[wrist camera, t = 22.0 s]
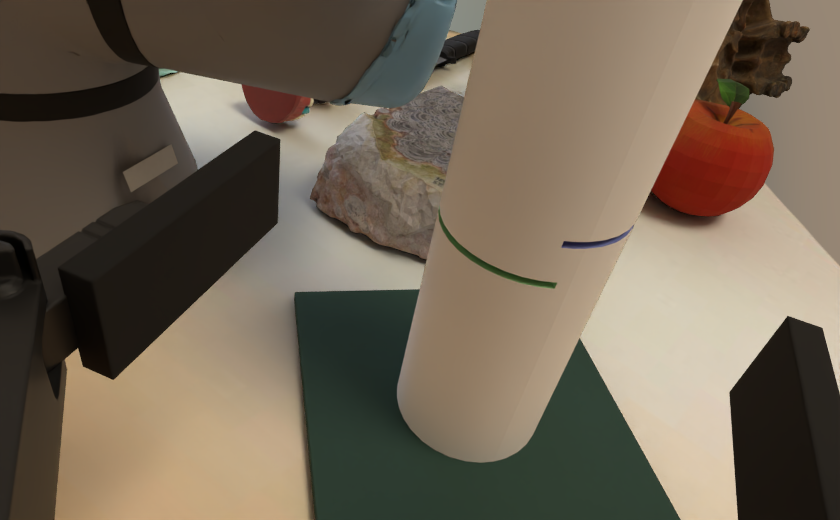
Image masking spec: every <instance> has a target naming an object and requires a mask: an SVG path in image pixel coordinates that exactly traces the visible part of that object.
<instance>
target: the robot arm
mask: <svg viewBox="0 0 840 520" xmlns="http://www.w3.org/2000/svg"><path fill="white" fill-rule="evenodd" d="M456 3H457V0H0V520H54V517H55V505H56V493H57V481H58V469H59V457H60V445H61V434H62V422H63V410H64V398H65V386H66V374H67V368H66V363H65V358H66V357H68V356H69V355H70V354H71V353H72V352H73V351H75V350H76V349H77V348H78V349H79V353H80V357H81V361H82V365H83V367H86V368H88V369H90V370H92V371H94V372H97V373H99V374H101V375H103V376H106V377H108V378H110V379H112V380H114V379H115V378H116V377H117V376H118V375H119V374H120V373H121V372H122V371H123V370H124V369H125V368H126V367H127V366H128V365H129V364H130V363H131V362H133V361H134V360H135V359H136V358H137V357H138V356H139V355H140V354H141V353H142V352H143V351H144V350H145V349H146V348H147V347H148V346H149V345H150V344H151V343H152V342H153V341H154V340H156V339H157V338H158V337H159V336H160V335H161V334H162V333H163V332H164V331H165V330H166V329H167V328H168V327H169V326H170V325H171V324H172V323H173V322H174V321H175V320H176V319H178V318H179V317H180V316H181V315H182V314H183V313H184V312H185V311H186V310H187V309H188V308H189V307H190V306H191V305H192V304H193V303H194V302H195V301H196V300H197V299H198V298H199V297H201V296H202V295H203V294H204V293H205V292H206V291H207V290H208V289H209V288H210V287H211V286H212V285H213V284H214V283H215V282H216V281H217V280H218V279H219V278H220V277H221V276H223V275H224V274H225V273H226V272H227V271H228V270H229V269H230V268H231V267H232V266H233V265H234V264H235V263H236V262H237V261H238V260H239V259H240V258H241V257H242V256H243V255H244V254H246V253H247V252H248V251H249V250H250V249H251V248H252V247H253V246H254V245H255V244H256V243H257V242H258V241H259V240H260V239H261V238H262V237H263V236H264V235H265V234H266V233H268V232H269V231H270V230H271V229H272V228H273V227H274V226H275V225H276V224H277V223H278V194H279V164H280V139H278V138H275V137H272V136H269V135H266V134H264V133H261V132H258V131H254V132H252V133H251V134H249V135H248V136H246V137H245V138H243V139H242V140H241V141H239V142H238V143H236V144H235V145H233V146H232V147H230V148H229V149H228V150H226V151H225V152H223V153H222V154H220V155H219V156H217V157H216V158H215V159H213V160H212V161H210V162H209V163H207V164H206V165H205V166H203V167H202V168H200V169H199V170H198V169H197V165H196V161H195V159H194V157H193V155H192V152H191V150H190V148H189V146H188V144H187V142H186V139H185V137H184V135H183V133H182V131H181V129H180V126H179V124H178V122H177V120H176V118H175V115H174V113H173V111H172V109H171V107H170V105H169V102H168V100H167V98H166V96H165V94H164V92H163V89H162V87H161V83H160V75H159V68H161V69H169V70H174V71H179V72H184V73H189V74H193V75H198V76H203V77H208V78H213V79H218V80H223V81H228V82H233V83H238V84H243V85H248V86H253V87H258V88H263V89H268V90H273V91H278V92H283V93H288V94H293V95H298V96H303V97H308V98H313V99H318V100H322V101H327V102H330V103H331V104H334V105H338V106H341V105H347V104H350V103H354V104H361V105H369V106H377V107H384V108H396V107H400V106H403V105H405V104H407V103H409V102H411V101H412V100H413V99H414V98H416V97H417V96H418V95H419V93H420V92H421V91H422V90H423V88H424V87H425V85H426V83H427V82H428V80H429V78H430V76H431V74H432V72H433V70H434V67H435V65H436V63H437V61H438V58H439V56H440V53H441V50H442V48H443V45H444V42H445V39H446V37H447V34H448V31H449V28H450V25H451V21H452V18H453V15H454V12H455V9H456ZM730 407H731V421H732V436H733V451H734V466H735V481H736V496H737V510H738V520H840V394H839V390H838V386H837V382H836V378H835V374H834V371H833V367H832V363H831V359H830V355H829V352H828V348H827V344H826V340H825V336H824V332H823V329H822V328H821V327H818V326H815V325H812V324H809V323H806V322H803V321H801V320H798V319H795V318H792V317H789V316H787V318H786V319H785V320H784V322H783V323H782V324H781V326H780V327H779V328H778V329H777V331H776V332H775V333H774V335H773V336H772V337H771V339H770V340H769V341H768V343H767V344H766V345H765V346H764V348H763V349H762V350H761V352H760V353H759V354H758V356H757V357H756V358H755V360H754V361H753V362H752V363H751V365H750V366H749V367H748V369H747V370H746V371H745V373H744V374H743V375H742V377H741V378H740V379H739V380H738V382H737V383H736V384H735V386H734V387H733V388H732V390H731V391H730Z"/></svg>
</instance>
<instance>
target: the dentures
mask: <svg viewBox="0 0 840 520" xmlns="http://www.w3.org/2000/svg"><path fill="white" fill-rule="evenodd" d="M242 88H243V92H244V95H245V98H246V101H247V103H248V105H249V106H250V108H251V110H252V111H253V113H254V114H255V115H256V116H257V117H259V118H260V119H261V120H264V121H268V122H271V123H283V122H284V121H293V120H297V119H300V118H302V117H303V116H305V114H307V113H309V107H311V106H312V105H313V103H316V104H317V103H319V104H324V103H328V102H327V101H322V100H318V99H313V98H308V97H303V96H298V95H293V94H288V93H283V92H278V91H273V90H268V89H263V88H258V87H253V86H248V85H243V84H242Z"/></svg>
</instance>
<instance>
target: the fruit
mask: <svg viewBox="0 0 840 520" xmlns="http://www.w3.org/2000/svg"><path fill="white" fill-rule="evenodd" d="M716 81H717V82H718V83H719V89H720V93H721V97H722V99H723V100H724V102H725V103H726V104H727V105H728V106H726V105H721V104H716V103H712V102H707V101H703V100H694V102H693V104H692V106H691V108H690V111H689V113H688V115H687V117H686V119H685V121H684V123H683V125H682V127H681V129H680V131H679V133H678V135H677V138H676V140H675V142H674V144H673V146H672V148H671V150H670V152H669V154H668V156H667V158H666V160H665V162H664V164H663V167H662V169H661V171H660V173H659V175H658V177H657V179H656V181H655V183H654V185H653V187H652V189H651V191H652V192H653V193H654V194H655V195H656V196H657V197H658V198H659V199H660V200H661V201H662V202H663V203H665V204H666V205H668V206H669V207H671V208H673V209H675V210H677V211H679V212H682V213H686V214H689V215H697V216H719V215H721V214H724V213H727V212H730V211H732V210H734V209H737V208H739V207H741V206H742V205H743V204H745V203H746V202H748V201H749V200H751V199H752V198H753V197H754V196H755V195H756V194H757V192H758V191H759V190H760V189H761V188H762V186H763V185H764V183H765V180H766V178H767V176H768V174H769V171H770V169H771V167H772V162H773V153H774V147H773V143H772V138H771V134H770V131H769V129H768V128H767V127H766V126H765V125H764V124H763V123H762V122H761V121H759V120H758V119H756V118H755V117H753V116H752V115H750V114H748V113H746V112H744V111H742V110H740V109H738V108H739V107H740V105H742V104H744V103H745V102H746V101H747V100H748V99H749V89H748V88H747V87H745V86H744V85H742V84H740V83H738V82H736V81H733V80H731V79H717V80H716Z"/></svg>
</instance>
